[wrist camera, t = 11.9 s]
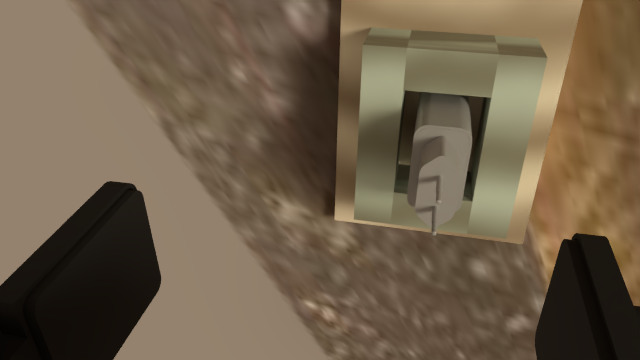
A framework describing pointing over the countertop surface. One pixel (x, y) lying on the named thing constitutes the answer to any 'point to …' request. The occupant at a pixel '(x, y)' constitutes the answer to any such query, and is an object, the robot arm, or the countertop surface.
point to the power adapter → (439, 157)
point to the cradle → (449, 78)
